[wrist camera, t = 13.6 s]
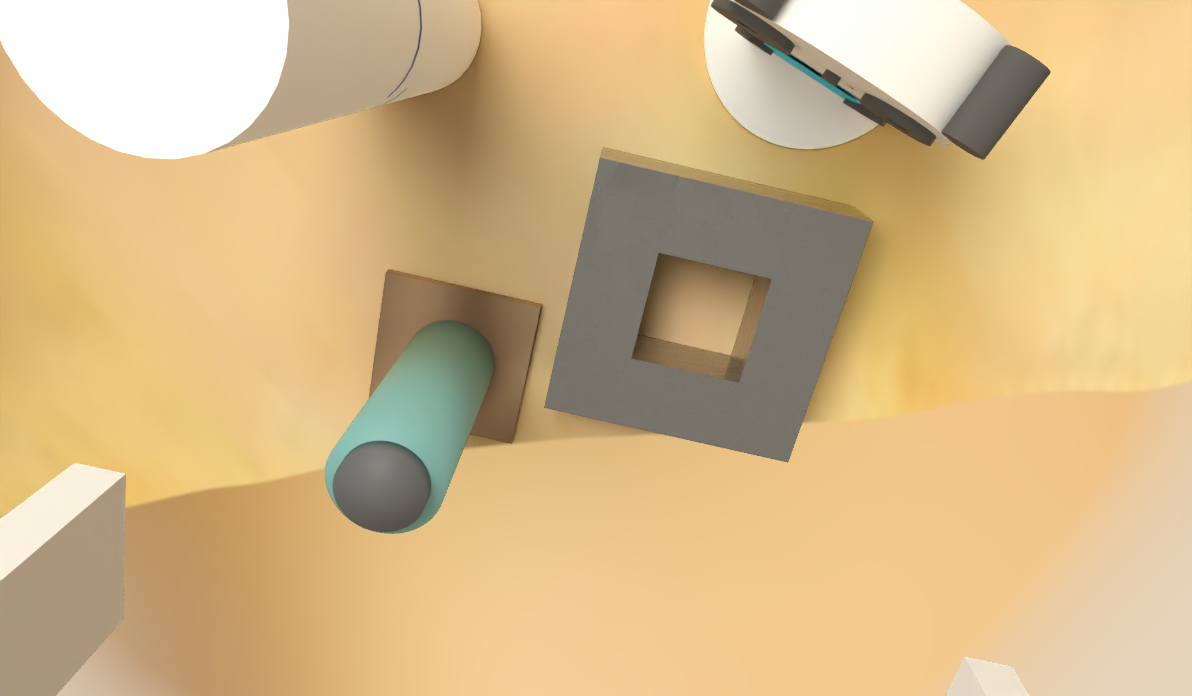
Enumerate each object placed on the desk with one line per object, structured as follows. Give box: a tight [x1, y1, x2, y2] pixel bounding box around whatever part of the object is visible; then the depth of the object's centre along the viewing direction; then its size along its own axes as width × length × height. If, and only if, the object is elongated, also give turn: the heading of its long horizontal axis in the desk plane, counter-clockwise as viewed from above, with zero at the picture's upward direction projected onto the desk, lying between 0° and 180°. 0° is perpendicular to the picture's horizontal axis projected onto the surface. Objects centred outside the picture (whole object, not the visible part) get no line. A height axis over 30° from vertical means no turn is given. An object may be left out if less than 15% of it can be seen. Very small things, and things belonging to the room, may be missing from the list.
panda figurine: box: [704, 0, 1050, 159], centre depth 35 cm, size 12×11×15 cm
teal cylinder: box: [325, 320, 495, 534], centre depth 41 cm, size 5×5×15 cm
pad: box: [369, 270, 542, 443], centre depth 49 cm, size 9×9×1 cm
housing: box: [544, 147, 873, 462], centre depth 45 cm, size 14×14×4 cm
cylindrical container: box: [0, 0, 482, 159], centre depth 31 cm, size 7×7×25 cm
